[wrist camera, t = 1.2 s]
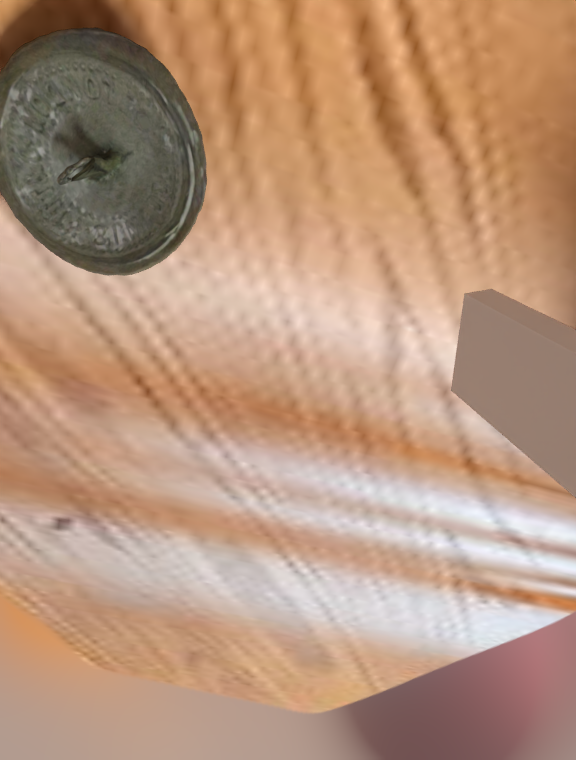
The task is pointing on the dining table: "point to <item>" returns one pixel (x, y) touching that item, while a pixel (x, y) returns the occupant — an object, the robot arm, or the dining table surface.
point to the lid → (99, 151)
